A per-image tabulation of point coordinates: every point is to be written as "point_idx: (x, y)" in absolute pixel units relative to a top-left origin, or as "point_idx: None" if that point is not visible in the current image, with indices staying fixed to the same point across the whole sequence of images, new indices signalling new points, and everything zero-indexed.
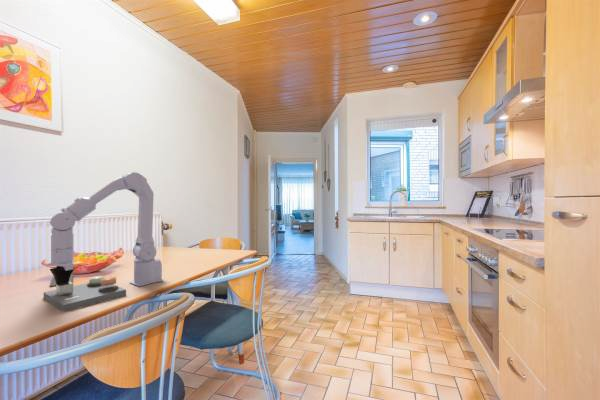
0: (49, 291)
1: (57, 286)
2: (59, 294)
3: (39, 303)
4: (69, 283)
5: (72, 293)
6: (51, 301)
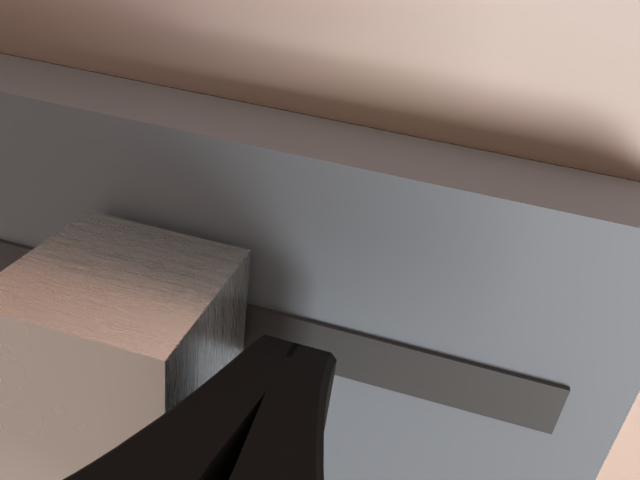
0: (628, 311)
1: (98, 318)
2: (77, 219)
3: (399, 8)
4: (44, 470)
5: None
6: (181, 102)
